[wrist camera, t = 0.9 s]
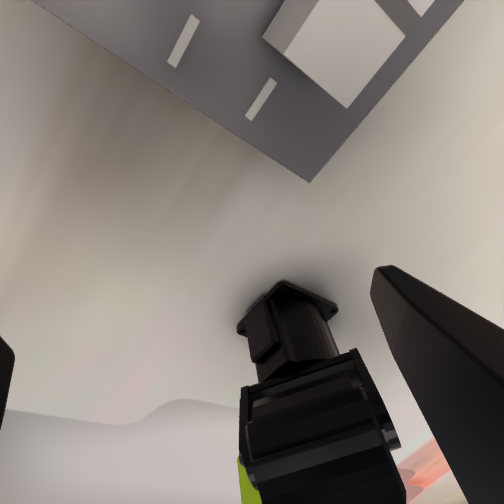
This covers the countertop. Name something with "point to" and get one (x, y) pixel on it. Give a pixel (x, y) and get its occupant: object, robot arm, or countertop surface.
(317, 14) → the fader
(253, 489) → the soap dispenser
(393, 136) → the countertop surface
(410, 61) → the gray slotted panel
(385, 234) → the countertop surface
